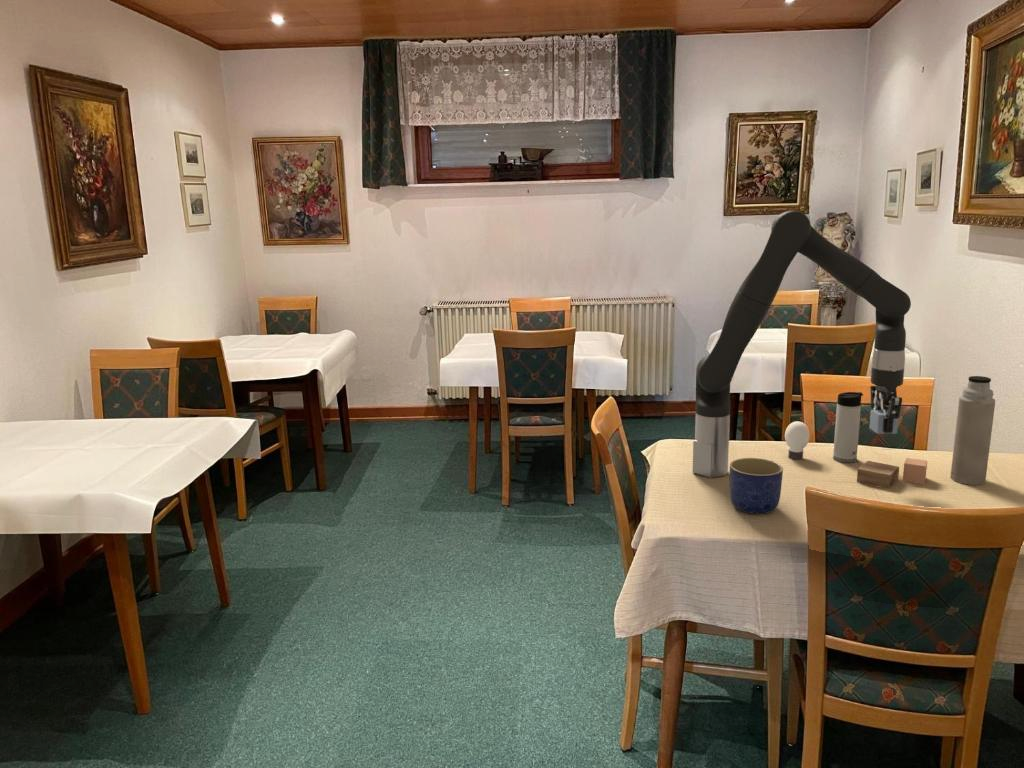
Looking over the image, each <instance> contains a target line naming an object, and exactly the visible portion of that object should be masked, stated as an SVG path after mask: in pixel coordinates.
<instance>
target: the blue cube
mask: <svg viewBox="0 0 1024 768" xmlns="http://www.w3.org/2000/svg"><path fill="white" fill-rule="evenodd" d="M887 413H888V410H887ZM883 421H884V413H883V410H873V409H870V415H869V430H871V431H872V432H873V433H875V434H883V435H884V434H889V435H890V433H884V432H883ZM898 426H899V418H898V419H896V418H895V419H894V420H893V431H892V433H891V434H898Z"/></svg>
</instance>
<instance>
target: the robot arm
mask: <svg viewBox="0 0 1024 768" xmlns="http://www.w3.org/2000/svg"><path fill="white" fill-rule="evenodd" d="M770 229H771V231H770V235H769V237H768V239H767V242H766V245H765V247H764V249H763V252H762V253H761V255H760V257H759V258H758V261H757V262H756V264H755V265H753V268H752V269H751V270H750V271H749V273H748V275H747V276H746V277H745V278H744V280H743V281H742V283H741V285H740V286H739V288H738V290H737V292H736V293H735V296H734V298H733V300H732V302H731V303H730V306H729V308H728V309H727V313H726V316H725V319H724V321H723V325H722V329H721V332H720V335H719V337H718V339H717V341H716V342H715V344H714V347H713V348H712V349H711V352H710V353H709V354H707V355H705V356H703V358H701V359H700V360H699V362H698V363H697V366H696V372H695V420H694V421H695V423H694V424H695V429H694V440H693V442H692V444H693V445H692V474H695V473H697V474H696V475H699V474H700V475H699V476H702V475H703V476H702V477H706V478H709V479H712V478H719V477H725V476H726V475H728V473H729V453H730V452H729V447H730V446H729V445H730V424H731V383H732V380H733V378H734V375H735V372H736V370H737V368H738V365H739V363H740V361H741V357H742V355H743V354H744V352H745V350H746V348H747V347H748V345H749V344H750V342H751V340H752V339H753V337H754V335H756V332H757V331H758V329H759V328H760V326H761V324H762V322H763V321H764V319H765V317H766V315H767V313H769V310H770V308H771V306H772V304H773V302H774V300H775V298H776V296H777V294H778V292H779V289H780V287H781V284H782V282H783V279H784V277H785V274H786V272H787V270H788V268H789V267H790V265H791V263H792V262H793V260H794V259H795V257H796V256H797V254H798V253H799V254H800V255H802V256H804V257H806V258H807V259H809V260H810V261H812V262H813V263H814V264H816V265H817V266H819V267H820V268H821V269H823V270H824V271H825V272H826V273H827V274H829V275H830V276H831V277H832V278H834V279H835V280H836V281H838V282H839V284H841V285H842V286H844V287H846V288H847V289H848V290H850V291H851V292H853V293H854V294H855V295H857V296H859V297H861V298H863V299H864V300H865V301H867V302H868V303H869V304H871V306H872V307H874V308H875V336H874V347H873V353H872V359H871V370H870V371H871V373H870V383H871V384H873V385H871V386H870V408H871V409H872V410H883V413H884V421H883V432H884V433H889V434H893V433H892V431H893V420H894V419H895V418H896V419H898V420H899V418H900V412H901V409H902V403H903V397H898V394H897V388H898V387H901V386H902V385H903V384H904V377H905V365H906V339H907V332H906V328H905V315H907V314H908V312H909V311H910V309H911V305H912V303H911V298H910V296H909V295H908V294H907V293H906V292H905V291H903V290H902V289H901V288H899V287H897V286H896V285H895V284H893V283H891V282H890V281H888V280H886V279H885V278H883V277H882V276H881V275H880V274H879V273H878V272H877V271H875V270H874V269H872V268H871V267H870V266H869V265H867V264H866V263H864V262H863V261H861V260H859V259H858V258H857V257H855V256H853V255H852V254H850V253H849V252H847V251H845V250H843V249H842V248H841V247H838V245H835V244H834V243H832V242H831V241H829V240H828V239H826V238H825V237H824V236H823V235H822V234H821V233H819V231H817V230H816V229H815V228H814V227H813V226H812V225H811V221H810V218H809V217H808V216H807V214H805V213H803V212H802V211H800V210H799V211H798V210H787V211H784V212H782V213H780V214H778V215H777V216H776V218H775V219H774V220H773V221H772V223H771V228H770ZM887 410H888V413H887Z"/></svg>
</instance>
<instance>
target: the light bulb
mask: <svg viewBox="0 0 1024 768" xmlns="http://www.w3.org/2000/svg"><path fill="white" fill-rule="evenodd" d="M810 435H811V434H810V431H809V427H808V426H807V425H806V424H805V423H804V422H802V421H800V420H799V421H792V422H791V423H790V424H788V426H787V427H786V429H785V433H784V439H785V443H786V445H787V447H789V449H788V453H787V454H788V455H787V457H788V458H789V459H791V460H803V458H804V448H805V447H807V445H808V443H809V441H810V438H811V437H810Z"/></svg>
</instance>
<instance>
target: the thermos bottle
mask: <svg viewBox="0 0 1024 768" xmlns="http://www.w3.org/2000/svg"><path fill="white" fill-rule="evenodd" d="M967 380H968V382H967V386H966V387H964V388H963V390H962V395H960V396H959V398H958V407H957V409H958V411H957V415H956V424H955V434H954V442H953V451H952V460H951V461H952V462H951V467H950V468H951V470H950V476H949V477H950V479H951V481H953V482H956V483H959V484H962V483H963V485H969V486H979V485H985V483H986V479H987V474H988V473H987V472H988V466H989V464H988V463H989V457H990V456H989V455H990V449H991V448H990V447H991V441H992V431H993V424H994V423H993V422H994V415H995V407H996V399H994V391H993V390H992V389H991V382H992V379H991V377H987V376H981V375H973V376H972V375H971V376H968V379H967Z"/></svg>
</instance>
